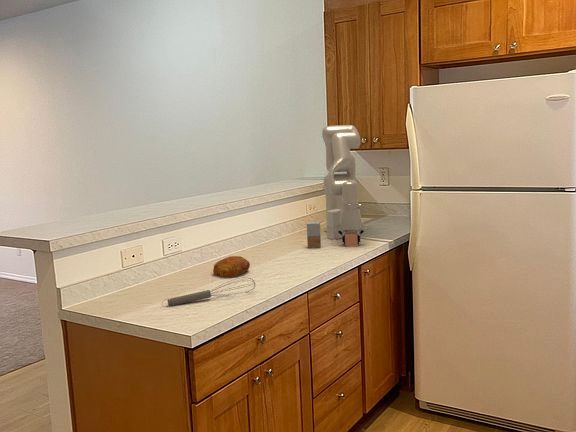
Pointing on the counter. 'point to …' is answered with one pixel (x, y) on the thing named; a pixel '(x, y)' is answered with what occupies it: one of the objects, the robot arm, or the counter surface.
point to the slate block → (313, 228)
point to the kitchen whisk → (202, 295)
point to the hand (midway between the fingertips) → (351, 243)
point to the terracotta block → (351, 239)
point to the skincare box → (333, 223)
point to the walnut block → (314, 241)
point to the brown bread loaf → (231, 266)
